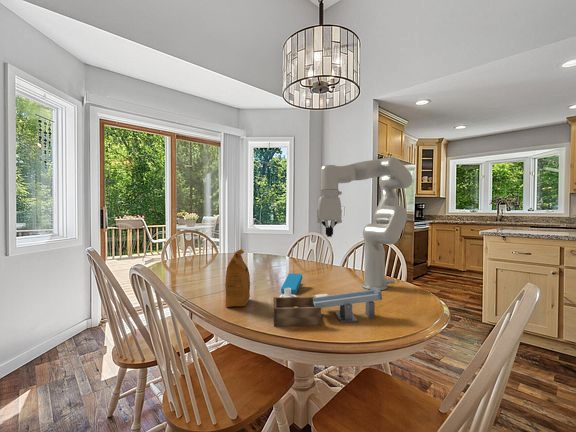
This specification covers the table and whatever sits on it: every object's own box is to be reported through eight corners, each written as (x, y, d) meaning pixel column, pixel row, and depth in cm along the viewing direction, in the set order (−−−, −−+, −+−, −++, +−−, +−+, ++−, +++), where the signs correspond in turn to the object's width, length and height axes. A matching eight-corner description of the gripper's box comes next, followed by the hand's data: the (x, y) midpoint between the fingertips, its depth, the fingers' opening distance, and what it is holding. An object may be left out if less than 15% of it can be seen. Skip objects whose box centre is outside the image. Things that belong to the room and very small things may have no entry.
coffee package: (253, 298, 126) (253, 248, 125) (246, 309, 113) (246, 253, 112) (231, 298, 127) (230, 248, 126) (221, 308, 114) (221, 252, 113)
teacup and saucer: (290, 302, 122) (290, 293, 122) (274, 299, 126) (274, 290, 126) (300, 296, 129) (300, 287, 129) (284, 294, 133) (284, 285, 133)
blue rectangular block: (296, 303, 133) (304, 282, 150) (295, 289, 131) (303, 270, 148) (282, 301, 135) (291, 281, 152) (280, 288, 133) (290, 269, 149)
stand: (368, 311, 111) (368, 296, 111) (377, 321, 101) (377, 305, 101) (334, 311, 110) (334, 296, 110) (340, 322, 100) (340, 305, 100)
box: (315, 312, 110) (315, 296, 110) (320, 325, 98) (320, 307, 98) (273, 313, 109) (273, 297, 109) (273, 326, 97) (273, 308, 97)
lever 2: (370, 289, 115) (369, 282, 115) (382, 299, 103) (381, 291, 103) (311, 297, 114) (310, 290, 114) (315, 308, 102) (314, 300, 101)
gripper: (344, 194, 129) (344, 235, 129) (311, 194, 128) (311, 235, 128) (348, 193, 121) (348, 237, 122) (313, 193, 120) (313, 237, 121)
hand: (329, 236), depth 125 cm, fingers closed
